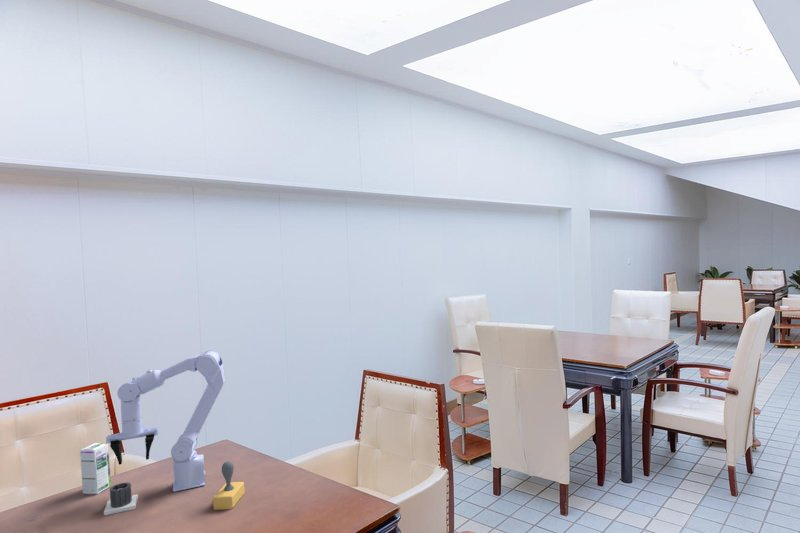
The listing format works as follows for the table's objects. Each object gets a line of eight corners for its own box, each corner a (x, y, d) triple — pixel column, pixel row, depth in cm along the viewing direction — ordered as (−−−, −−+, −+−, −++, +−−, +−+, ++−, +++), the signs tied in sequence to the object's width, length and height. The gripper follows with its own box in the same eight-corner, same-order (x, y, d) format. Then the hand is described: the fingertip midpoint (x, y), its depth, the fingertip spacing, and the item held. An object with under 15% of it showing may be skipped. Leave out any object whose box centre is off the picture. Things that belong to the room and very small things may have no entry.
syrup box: (97, 494, 156) (95, 449, 156) (81, 493, 157) (79, 449, 157) (111, 486, 162) (109, 442, 162) (96, 485, 163) (93, 442, 163)
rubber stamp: (226, 493, 152) (224, 455, 152) (245, 493, 152) (242, 454, 152) (213, 509, 142) (210, 468, 142) (232, 509, 142) (230, 468, 142)
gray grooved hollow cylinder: (134, 497, 150) (133, 481, 150) (127, 506, 145) (126, 489, 145) (114, 500, 149) (113, 484, 149) (108, 508, 144) (107, 492, 144)
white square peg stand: (137, 497, 153) (136, 481, 153) (135, 508, 145) (134, 492, 145) (108, 503, 150) (107, 487, 150) (104, 515, 142) (103, 498, 142)
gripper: (157, 411, 163) (160, 452, 163) (107, 419, 158) (110, 461, 158) (156, 417, 157) (158, 459, 157) (104, 425, 151) (106, 469, 151)
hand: (134, 460), depth 157 cm, fingers open, 7 cm apart
